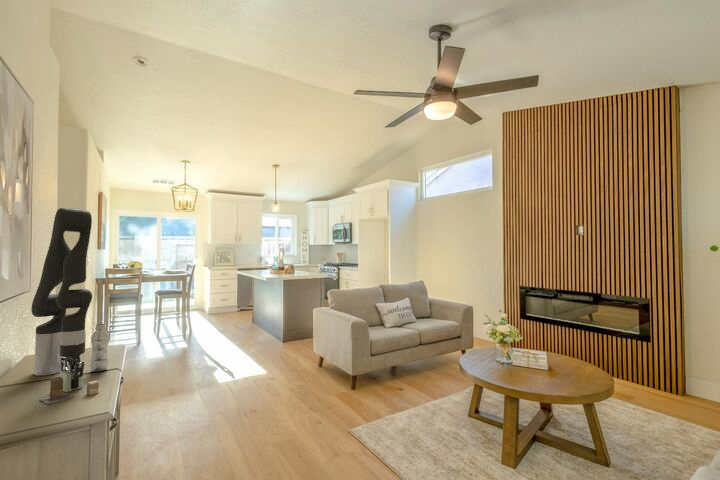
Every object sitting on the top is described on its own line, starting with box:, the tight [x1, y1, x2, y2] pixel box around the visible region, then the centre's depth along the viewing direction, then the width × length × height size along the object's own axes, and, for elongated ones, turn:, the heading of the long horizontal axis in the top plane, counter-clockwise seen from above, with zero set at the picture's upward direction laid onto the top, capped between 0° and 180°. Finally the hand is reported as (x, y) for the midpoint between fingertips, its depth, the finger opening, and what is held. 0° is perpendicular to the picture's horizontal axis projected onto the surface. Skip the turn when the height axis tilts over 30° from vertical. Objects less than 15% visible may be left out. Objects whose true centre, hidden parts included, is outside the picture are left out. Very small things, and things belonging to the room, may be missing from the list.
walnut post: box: [38, 376, 74, 406], centre depth 123 cm, size 7×7×7 cm
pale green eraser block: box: [59, 369, 84, 393], centre depth 132 cm, size 5×5×7 cm
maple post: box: [86, 380, 100, 396], centre depth 128 cm, size 3×3×4 cm
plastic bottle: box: [89, 323, 110, 373], centre depth 152 cm, size 6×7×20 cm
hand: (71, 386), depth 132 cm, fingers closed on pale green eraser block, 5 cm apart
